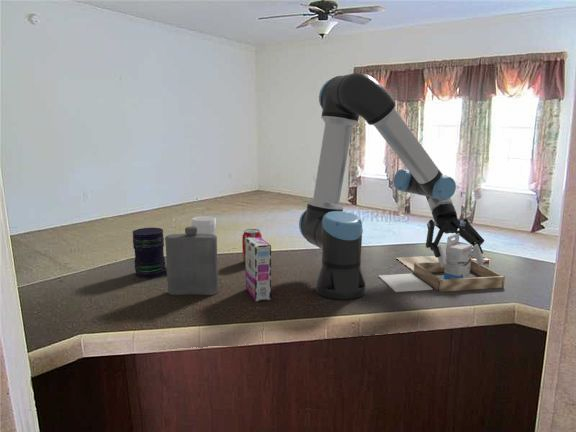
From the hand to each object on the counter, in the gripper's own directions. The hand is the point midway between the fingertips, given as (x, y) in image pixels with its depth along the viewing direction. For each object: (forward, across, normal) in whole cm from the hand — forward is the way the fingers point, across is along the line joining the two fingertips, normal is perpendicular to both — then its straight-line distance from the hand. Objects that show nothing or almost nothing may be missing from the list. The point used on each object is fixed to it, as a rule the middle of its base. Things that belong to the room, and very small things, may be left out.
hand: (463, 264), depth 139 cm
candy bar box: (+4, +65, -5) cm, 65 cm away
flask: (0, +84, -9) cm, 84 cm away
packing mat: (+2, +18, -6) cm, 19 cm away
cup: (-22, +81, -31) cm, 89 cm away
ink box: (+2, 0, -6) cm, 7 cm away
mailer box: (-4, 0, -12) cm, 12 cm away
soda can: (-18, +64, -27) cm, 72 cm away
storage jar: (-13, +99, -22) cm, 102 cm away
